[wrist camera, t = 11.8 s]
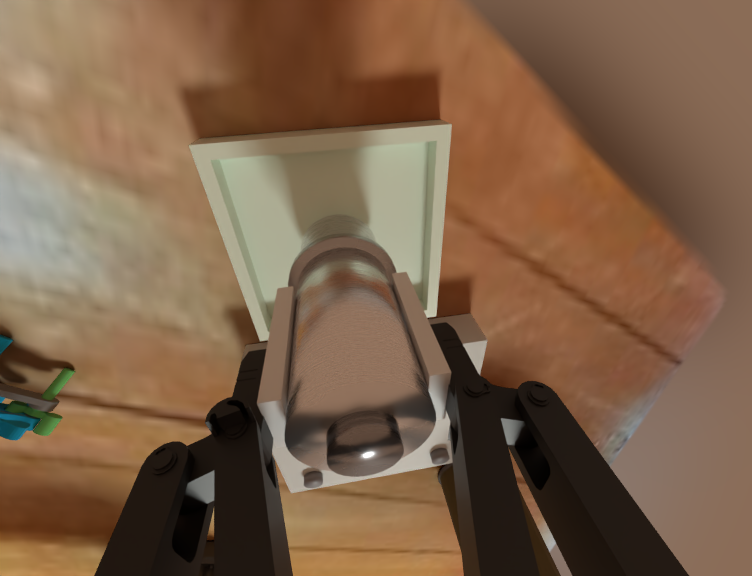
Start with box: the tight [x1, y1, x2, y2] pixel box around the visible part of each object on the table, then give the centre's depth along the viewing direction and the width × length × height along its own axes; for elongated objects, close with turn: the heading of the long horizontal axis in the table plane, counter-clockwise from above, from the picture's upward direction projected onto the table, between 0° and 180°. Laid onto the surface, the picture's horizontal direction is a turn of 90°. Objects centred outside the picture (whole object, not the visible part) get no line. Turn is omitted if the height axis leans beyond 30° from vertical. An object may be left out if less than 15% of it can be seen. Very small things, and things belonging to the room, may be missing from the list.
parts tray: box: [189, 120, 452, 341], centre depth 22 cm, size 14×14×2 cm
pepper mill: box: [284, 214, 436, 477], centre depth 15 cm, size 6×6×14 cm
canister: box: [438, 463, 561, 576], centre depth 39 cm, size 11×10×20 cm
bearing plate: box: [238, 313, 487, 493], centre depth 32 cm, size 20×20×4 cm
